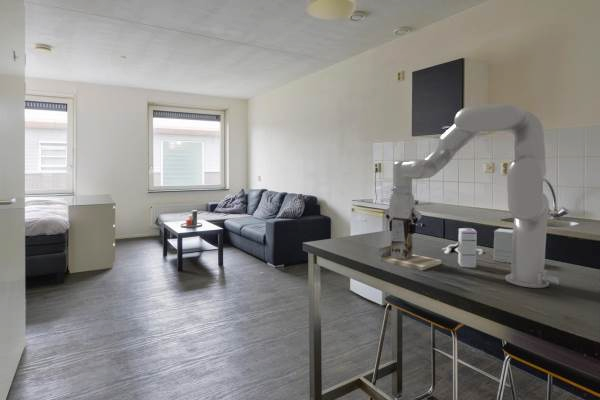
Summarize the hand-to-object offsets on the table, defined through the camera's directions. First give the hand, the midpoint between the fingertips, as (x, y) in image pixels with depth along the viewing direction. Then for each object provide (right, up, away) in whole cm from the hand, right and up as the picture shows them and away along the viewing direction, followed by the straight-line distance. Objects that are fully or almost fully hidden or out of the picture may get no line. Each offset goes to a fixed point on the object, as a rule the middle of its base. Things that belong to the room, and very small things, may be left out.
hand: (402, 232), depth 154 cm
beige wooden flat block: (+2, -12, -2) cm, 13 cm away
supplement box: (+42, -12, -1) cm, 44 cm away
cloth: (+30, -11, +15) cm, 36 cm away
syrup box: (+23, -13, -8) cm, 28 cm away
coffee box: (0, -11, +1) cm, 11 cm away
